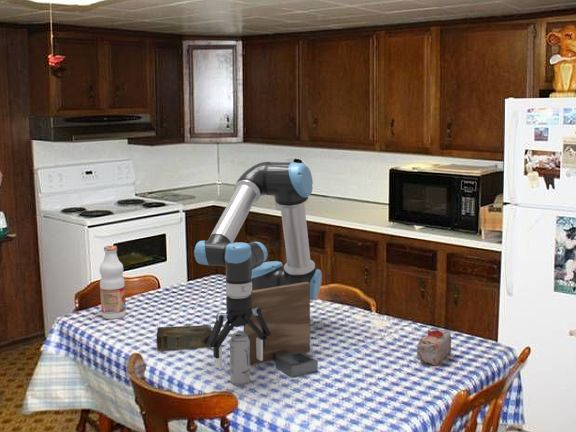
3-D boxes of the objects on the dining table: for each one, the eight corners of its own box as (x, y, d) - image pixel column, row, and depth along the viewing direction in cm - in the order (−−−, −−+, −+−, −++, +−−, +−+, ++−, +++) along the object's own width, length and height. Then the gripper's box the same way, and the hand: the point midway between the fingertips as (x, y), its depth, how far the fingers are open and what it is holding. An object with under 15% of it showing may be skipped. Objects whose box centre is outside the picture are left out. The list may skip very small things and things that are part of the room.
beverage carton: (213, 348, 242) (212, 329, 240) (156, 352, 238) (156, 333, 237) (211, 340, 249) (211, 322, 248) (156, 344, 246) (156, 326, 245)
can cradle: (266, 361, 229) (266, 351, 228) (291, 355, 233) (291, 345, 233) (291, 377, 215) (291, 366, 215) (317, 371, 220) (317, 360, 219)
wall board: (244, 363, 227) (243, 291, 223) (306, 349, 239) (306, 281, 235) (247, 365, 225) (245, 293, 221) (309, 351, 237) (309, 282, 233)
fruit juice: (98, 315, 278) (94, 246, 273) (120, 310, 284) (117, 243, 279) (107, 321, 271) (103, 250, 266) (129, 316, 276) (126, 247, 271)
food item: (438, 368, 222) (439, 338, 220) (414, 363, 226) (415, 334, 225) (452, 355, 233) (454, 326, 232) (430, 350, 238) (431, 322, 236)
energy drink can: (247, 387, 208) (246, 339, 206) (227, 385, 209) (226, 337, 207) (252, 379, 214) (251, 332, 211) (233, 377, 215) (232, 331, 213)
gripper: (205, 304, 198) (207, 376, 201) (281, 292, 210) (281, 359, 214) (194, 298, 204) (196, 367, 207) (269, 286, 216) (269, 352, 220)
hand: (239, 363), depth 210 cm, fingers open, 13 cm apart
